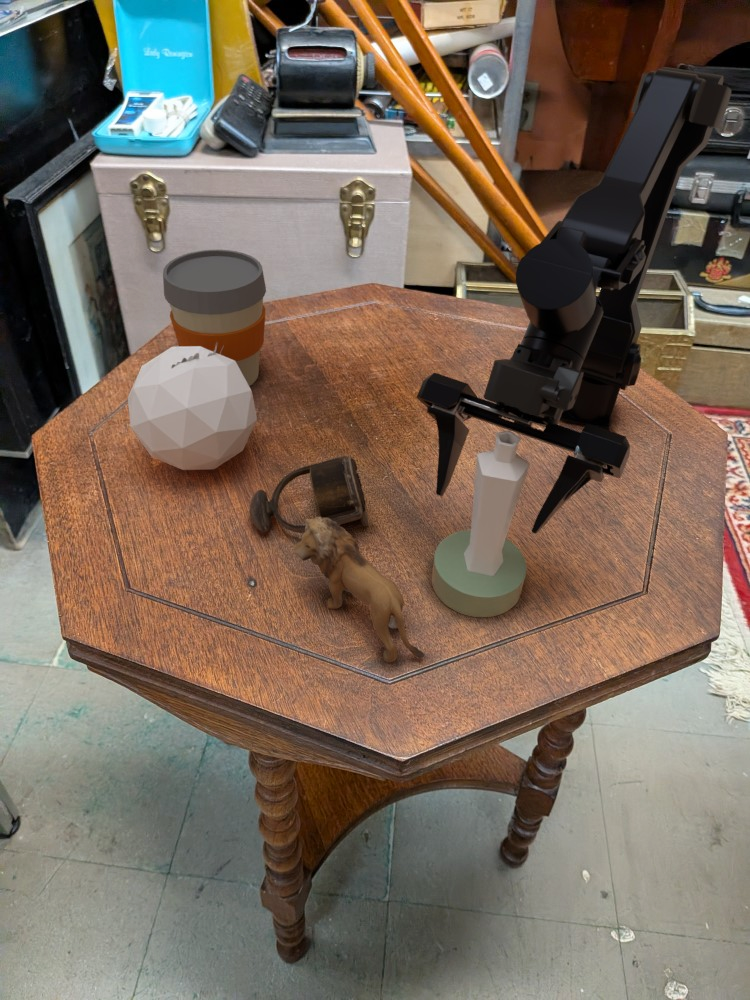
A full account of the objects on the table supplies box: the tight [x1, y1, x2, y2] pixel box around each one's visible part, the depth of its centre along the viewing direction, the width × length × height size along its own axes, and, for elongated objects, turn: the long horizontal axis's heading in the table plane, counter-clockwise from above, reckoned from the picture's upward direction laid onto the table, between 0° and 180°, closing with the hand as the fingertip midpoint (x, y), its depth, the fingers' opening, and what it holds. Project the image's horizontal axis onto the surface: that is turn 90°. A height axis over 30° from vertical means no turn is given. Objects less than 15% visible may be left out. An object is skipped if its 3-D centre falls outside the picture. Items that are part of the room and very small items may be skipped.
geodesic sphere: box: [127, 342, 258, 471], centre depth 81 cm, size 15×14×14 cm
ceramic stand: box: [430, 529, 528, 618], centre depth 71 cm, size 9×9×3 cm
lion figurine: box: [292, 516, 426, 663], centre depth 66 cm, size 15×5×9 cm, turn 50°
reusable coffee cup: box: [162, 249, 267, 387], centre depth 94 cm, size 13×13×15 cm
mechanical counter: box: [249, 455, 369, 534], centre depth 76 cm, size 7×13×10 cm
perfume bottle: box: [464, 430, 531, 576], centre depth 65 cm, size 5×4×15 cm
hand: (485, 513), depth 64 cm, fingers open, 9 cm apart
